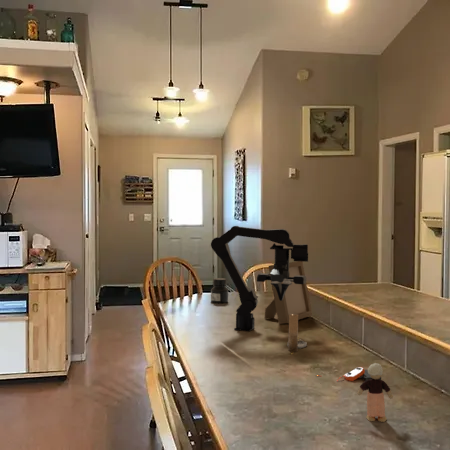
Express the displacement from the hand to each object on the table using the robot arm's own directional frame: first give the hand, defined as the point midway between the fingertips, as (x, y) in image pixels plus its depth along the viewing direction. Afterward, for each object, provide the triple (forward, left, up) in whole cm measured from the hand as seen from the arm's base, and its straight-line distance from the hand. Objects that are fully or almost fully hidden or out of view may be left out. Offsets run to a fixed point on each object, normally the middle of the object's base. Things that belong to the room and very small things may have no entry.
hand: (281, 300), depth 207 cm
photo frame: (-4, +24, -12) cm, 27 cm away
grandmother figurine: (+42, -78, -12) cm, 89 cm away
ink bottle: (-46, +52, -12) cm, 70 cm away
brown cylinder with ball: (+12, -27, -11) cm, 31 cm away
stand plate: (+12, -24, -12) cm, 30 cm away
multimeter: (+33, -51, -13) cm, 62 cm away
